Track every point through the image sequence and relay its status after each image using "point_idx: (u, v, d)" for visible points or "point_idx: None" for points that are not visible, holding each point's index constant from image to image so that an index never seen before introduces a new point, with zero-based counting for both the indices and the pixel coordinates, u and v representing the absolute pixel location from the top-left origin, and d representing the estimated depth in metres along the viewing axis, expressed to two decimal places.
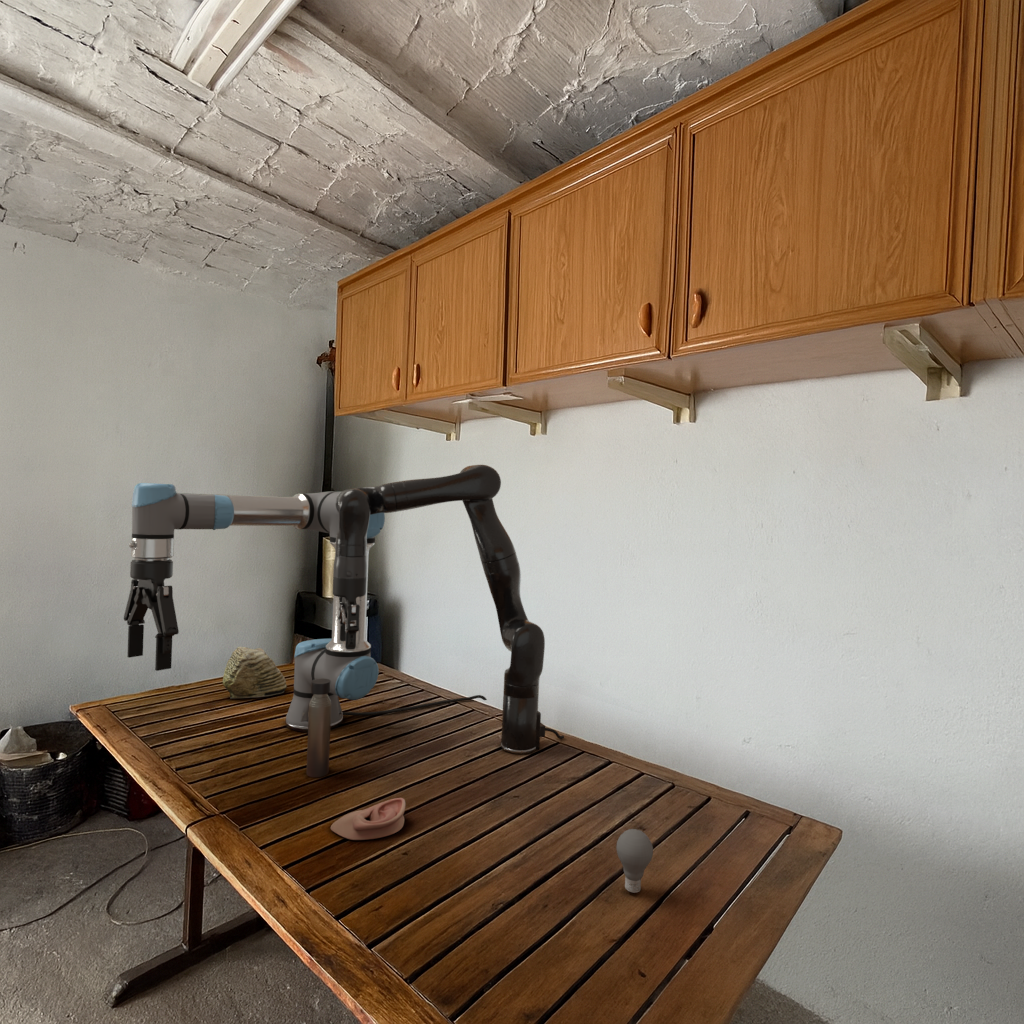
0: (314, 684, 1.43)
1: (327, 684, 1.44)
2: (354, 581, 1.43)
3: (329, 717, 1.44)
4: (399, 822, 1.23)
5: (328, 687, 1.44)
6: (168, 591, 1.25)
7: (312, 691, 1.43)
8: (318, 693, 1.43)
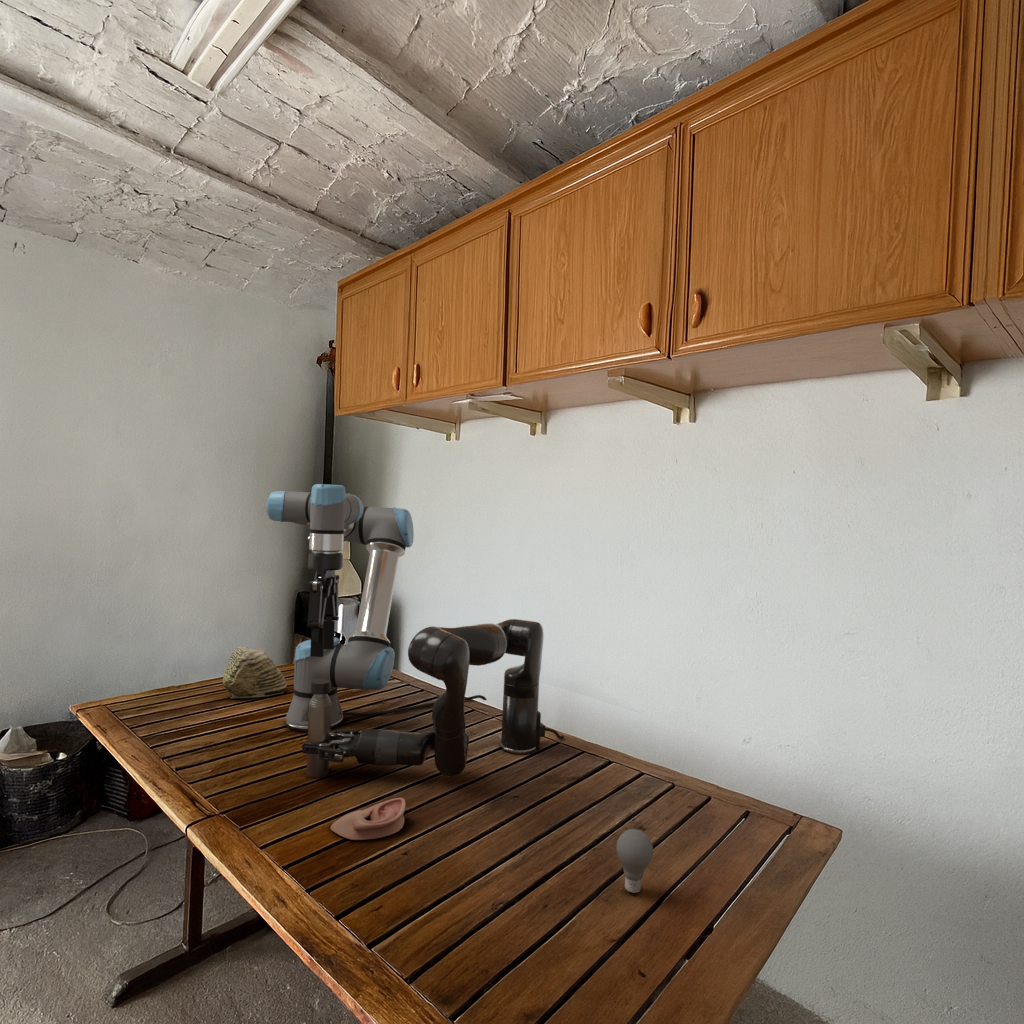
0: (314, 684, 1.43)
1: (327, 684, 1.44)
2: None
3: (329, 717, 1.44)
4: (399, 822, 1.23)
5: (328, 687, 1.44)
6: (316, 587, 1.38)
7: (312, 691, 1.43)
8: (318, 693, 1.43)
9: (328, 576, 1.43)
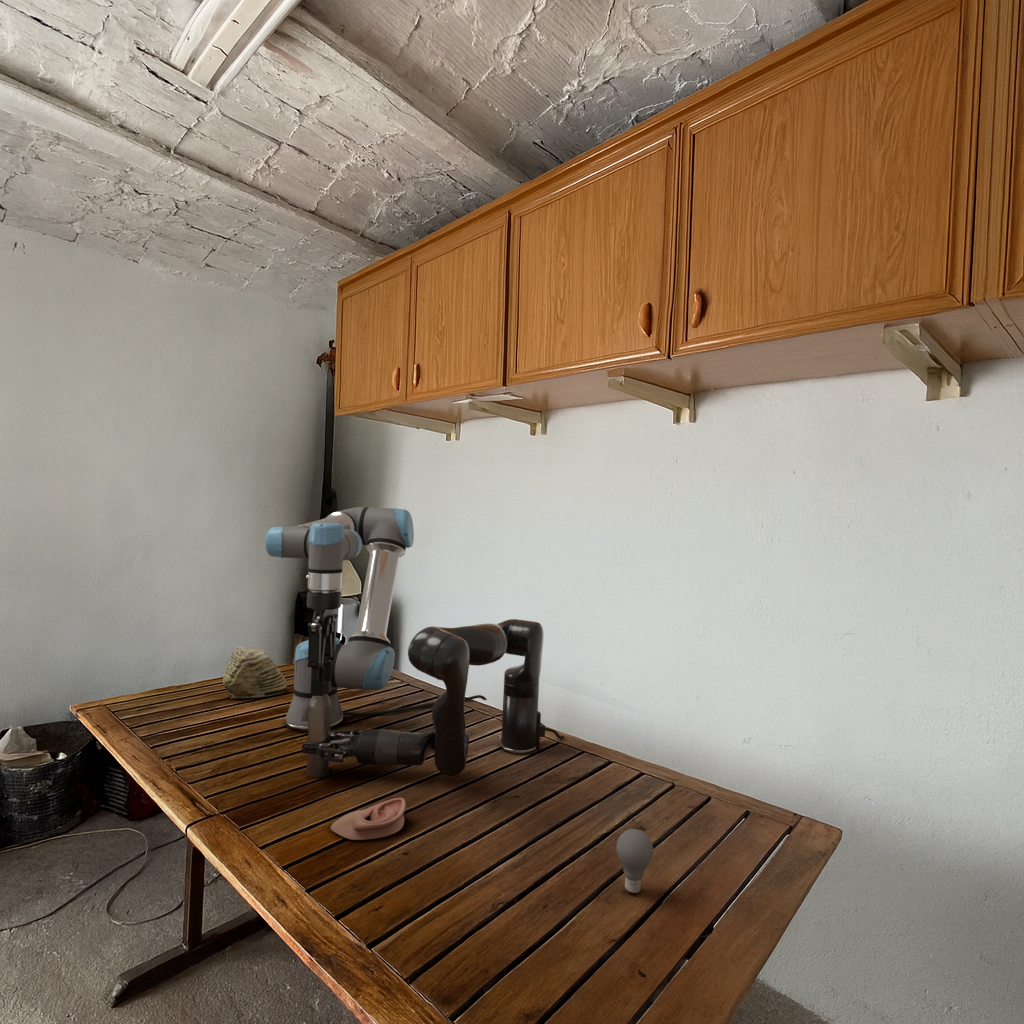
0: None
1: (327, 684, 1.44)
2: None
3: (329, 717, 1.44)
4: (399, 822, 1.23)
5: (328, 687, 1.44)
6: (315, 629, 1.38)
7: None
8: None
9: (326, 615, 1.43)
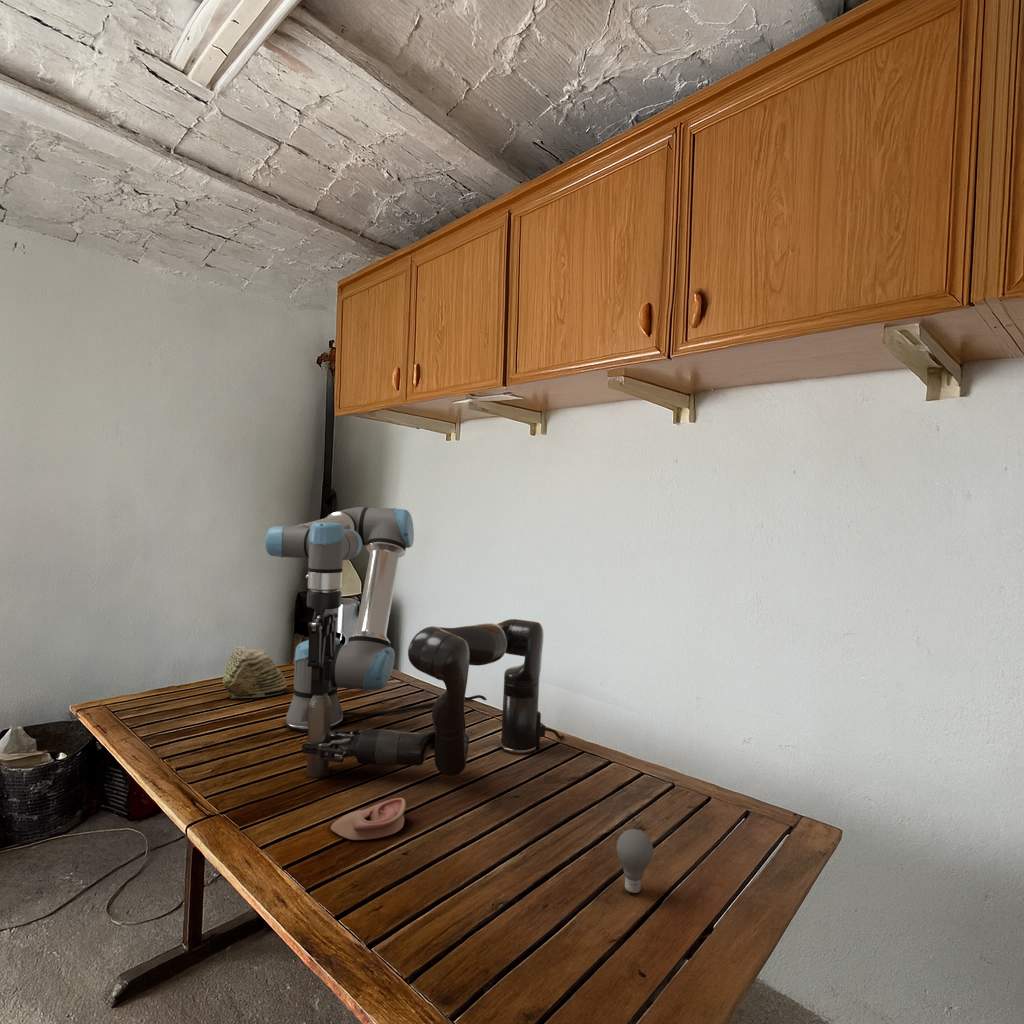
0: (329, 682, 1.45)
1: None
2: None
3: (329, 717, 1.44)
4: (399, 822, 1.23)
5: None
6: (315, 629, 1.38)
7: (327, 690, 1.44)
8: None
9: (326, 614, 1.43)
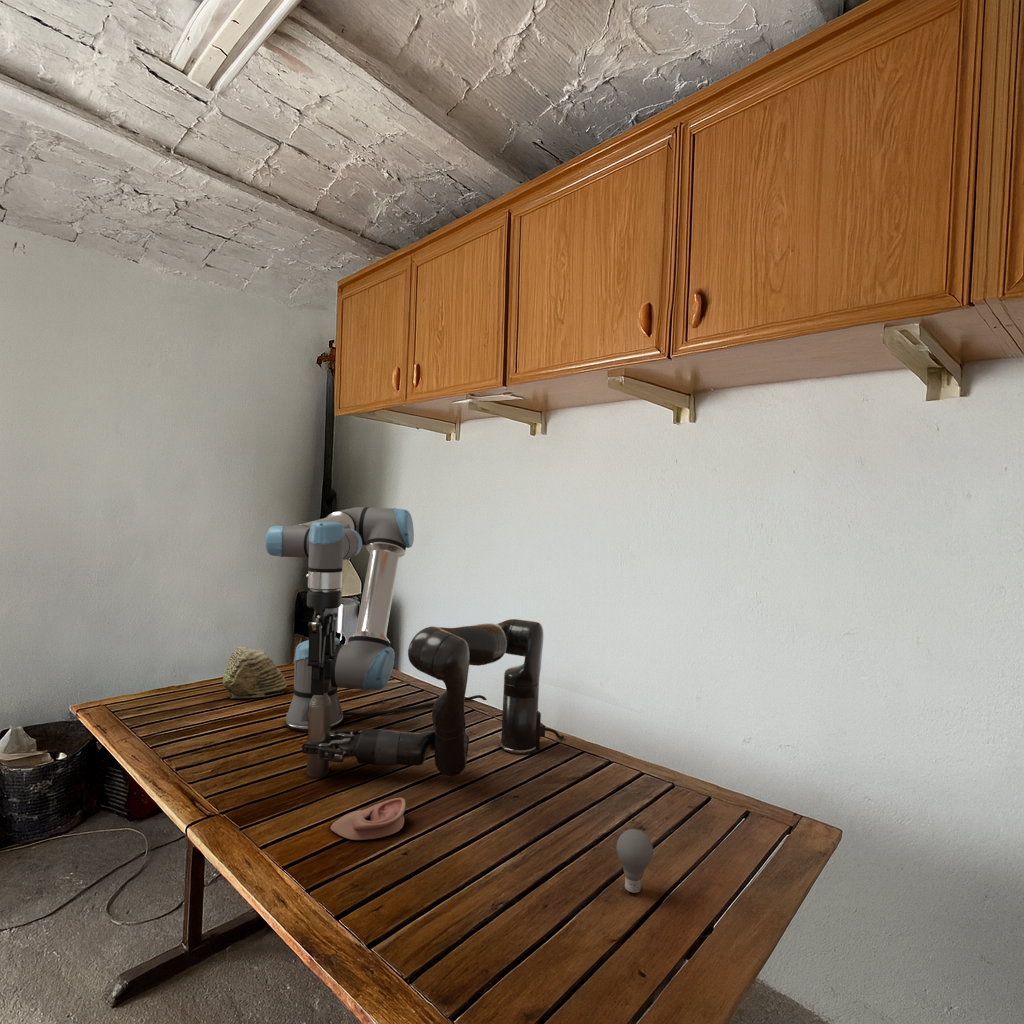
0: None
1: None
2: None
3: (329, 717, 1.44)
4: (399, 822, 1.23)
5: None
6: (315, 628, 1.38)
7: None
8: None
9: (326, 614, 1.43)
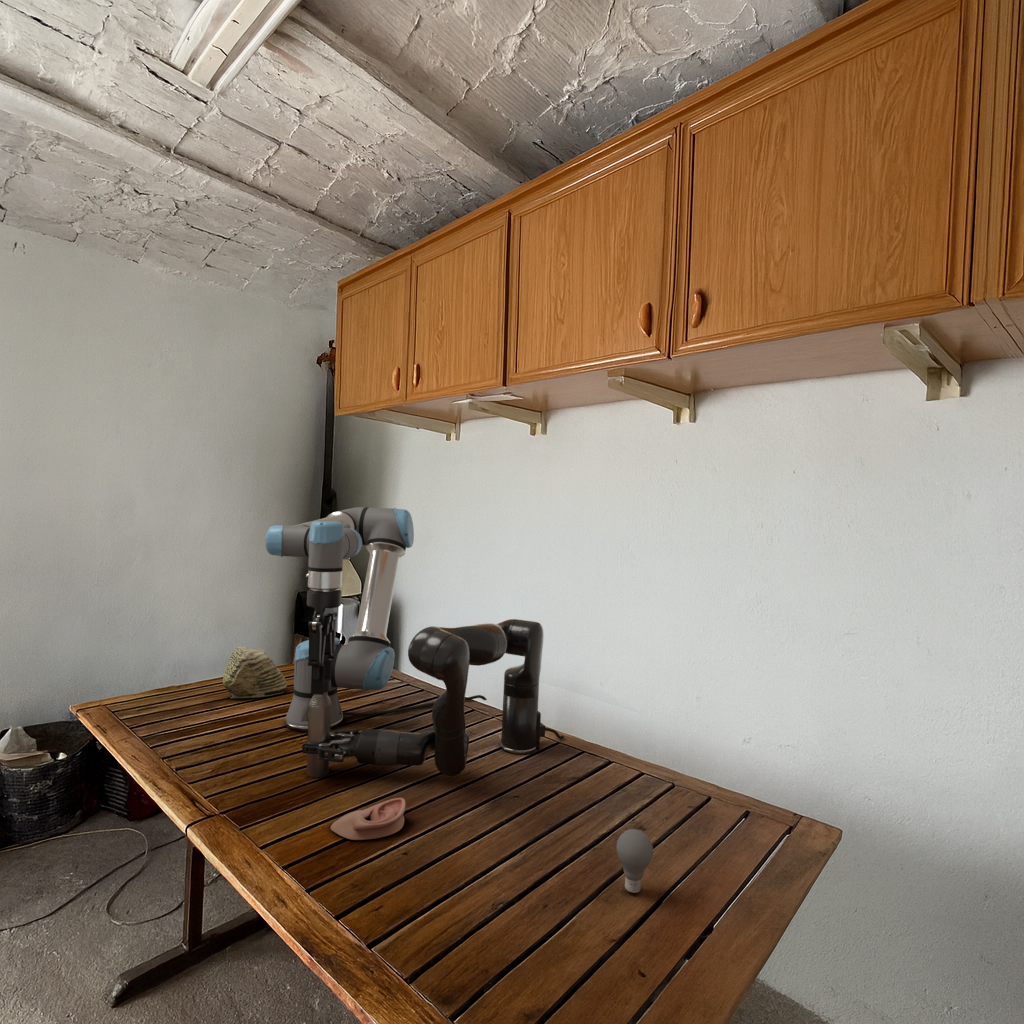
0: None
1: None
2: None
3: (329, 717, 1.44)
4: (399, 822, 1.23)
5: None
6: (316, 628, 1.38)
7: None
8: None
9: (326, 613, 1.43)
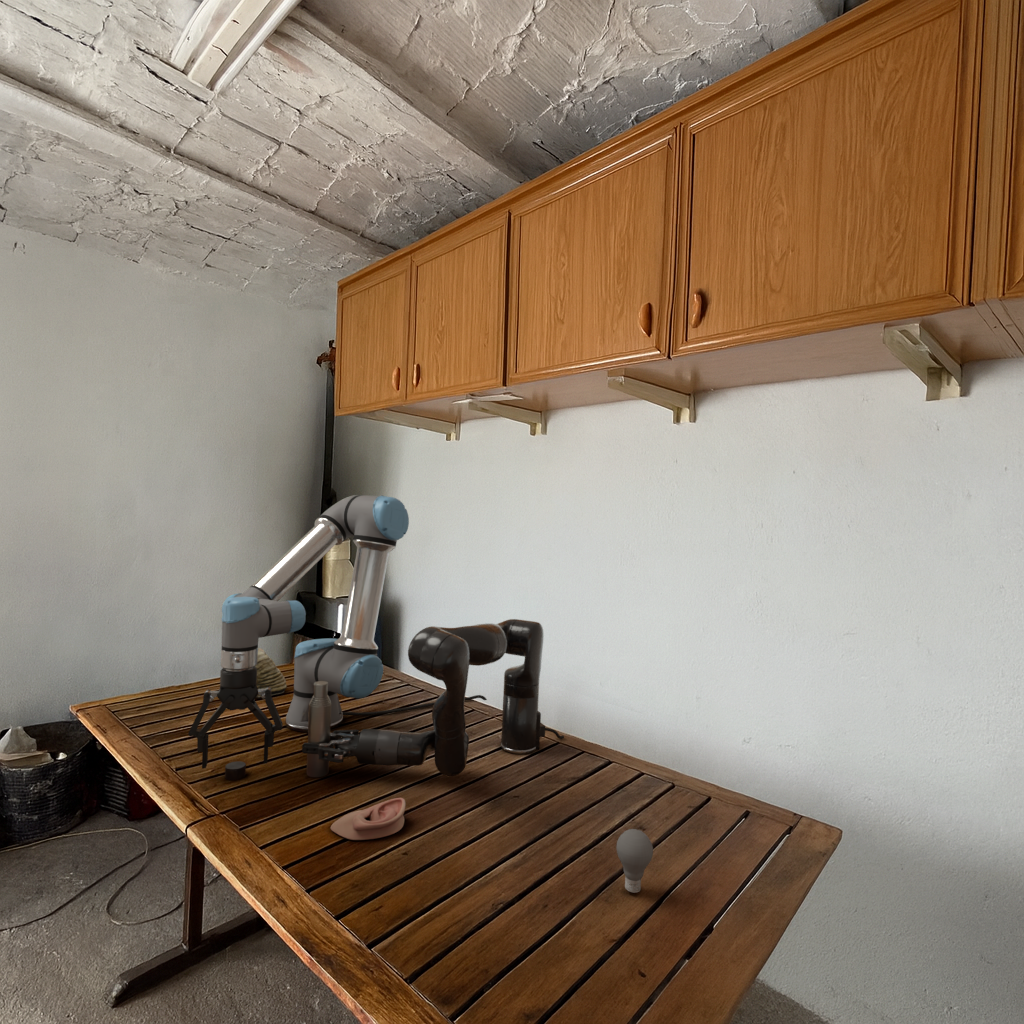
0: (240, 769, 1.40)
1: None
2: None
3: (329, 717, 1.44)
4: (399, 822, 1.23)
5: None
6: None
7: (236, 777, 1.40)
8: (243, 776, 1.41)
9: None
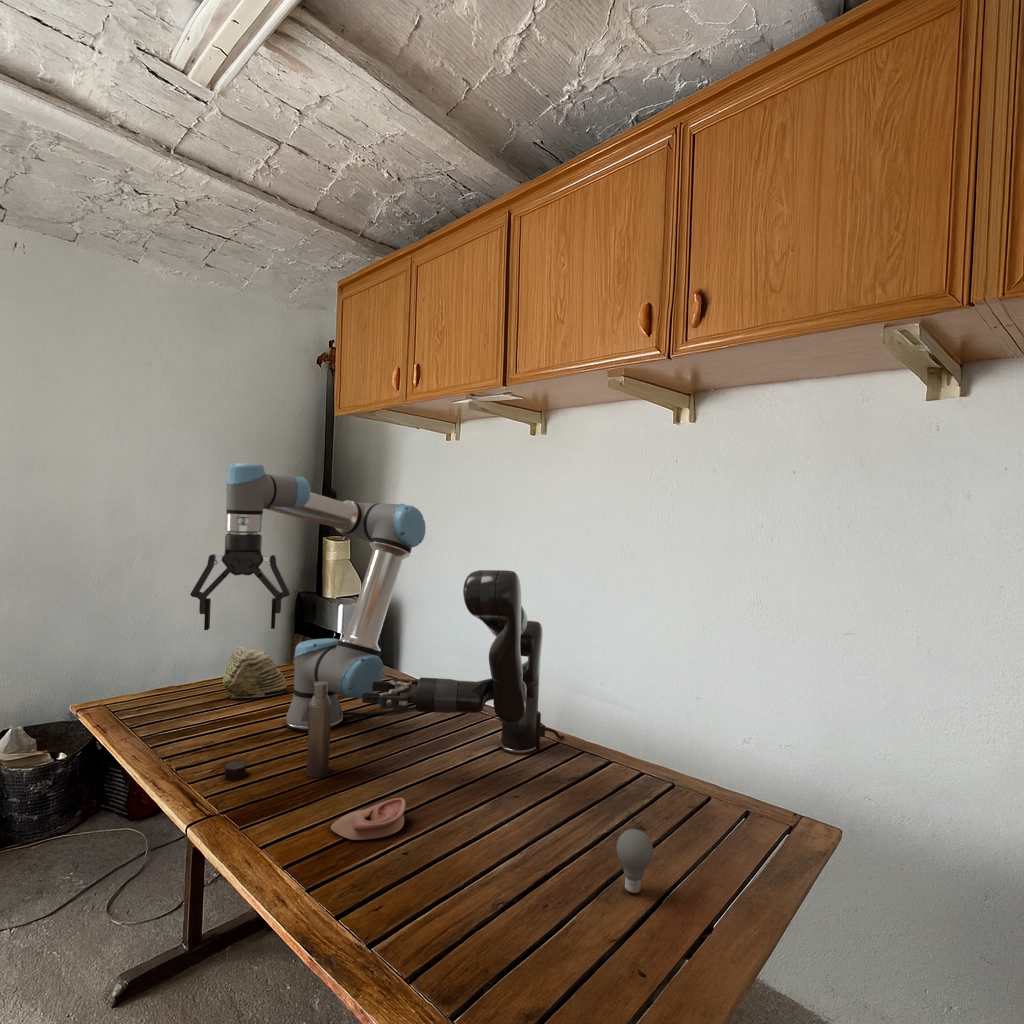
0: (240, 769, 1.40)
1: None
2: None
3: (329, 717, 1.44)
4: (399, 822, 1.23)
5: None
6: None
7: (236, 777, 1.40)
8: (243, 776, 1.41)
9: None
